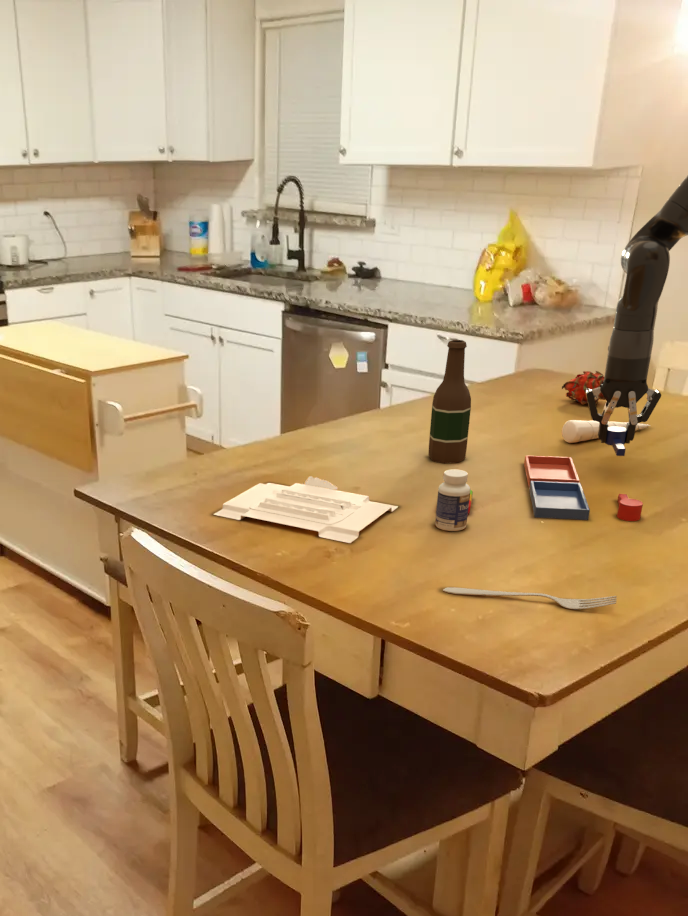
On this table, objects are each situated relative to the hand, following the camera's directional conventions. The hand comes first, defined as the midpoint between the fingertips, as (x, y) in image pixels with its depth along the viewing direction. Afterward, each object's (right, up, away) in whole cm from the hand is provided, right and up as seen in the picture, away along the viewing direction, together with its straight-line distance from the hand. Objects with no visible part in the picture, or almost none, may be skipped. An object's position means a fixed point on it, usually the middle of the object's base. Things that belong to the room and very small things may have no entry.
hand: (614, 441), depth 186 cm
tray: (-62, -15, -11) cm, 65 cm away
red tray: (-12, -7, +1) cm, 14 cm away
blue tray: (-16, -14, -12) cm, 24 cm away
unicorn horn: (+8, +6, +24) cm, 26 cm away
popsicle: (-34, -13, -9) cm, 37 cm away
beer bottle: (-30, -1, +14) cm, 33 cm away
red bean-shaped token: (-5, -16, -16) cm, 23 cm away
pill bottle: (-37, -19, -20) cm, 46 cm away
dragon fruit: (+13, +20, +49) cm, 54 cm away
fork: (-33, -33, -46) cm, 66 cm away
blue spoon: (-1, -2, -3) cm, 3 cm away
